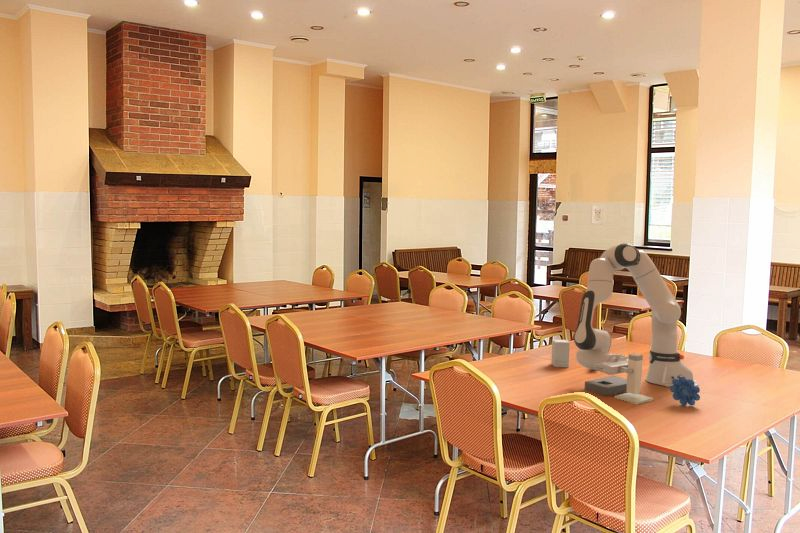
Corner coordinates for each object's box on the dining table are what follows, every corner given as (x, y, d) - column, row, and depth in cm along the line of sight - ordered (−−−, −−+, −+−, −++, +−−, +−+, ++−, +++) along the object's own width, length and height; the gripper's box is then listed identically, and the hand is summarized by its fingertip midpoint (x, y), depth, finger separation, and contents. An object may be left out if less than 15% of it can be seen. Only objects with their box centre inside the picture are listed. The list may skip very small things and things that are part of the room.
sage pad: (630, 394, 292) (630, 391, 292) (653, 400, 283) (653, 398, 283) (614, 398, 286) (614, 395, 286) (636, 404, 277) (636, 402, 277)
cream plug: (632, 390, 287) (634, 353, 285) (640, 392, 284) (642, 355, 282) (626, 391, 285) (628, 354, 283) (634, 394, 281) (636, 356, 280)
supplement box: (569, 367, 338) (570, 342, 336) (554, 367, 338) (555, 342, 337) (565, 364, 345) (566, 339, 344) (551, 363, 345) (552, 339, 344)
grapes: (669, 406, 275) (670, 377, 274) (668, 402, 281) (670, 373, 280) (700, 410, 271) (702, 380, 270) (699, 405, 278) (700, 376, 276)
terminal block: (613, 383, 310) (614, 375, 309) (636, 389, 300) (636, 381, 299) (584, 389, 298) (584, 381, 298) (606, 396, 288) (607, 388, 288)
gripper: (593, 359, 288) (621, 366, 276) (624, 353, 299) (651, 360, 288) (592, 373, 288) (620, 381, 277) (623, 367, 300) (650, 375, 289)
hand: (636, 370), depth 283 cm, fingers closed on cream plug, 4 cm apart
